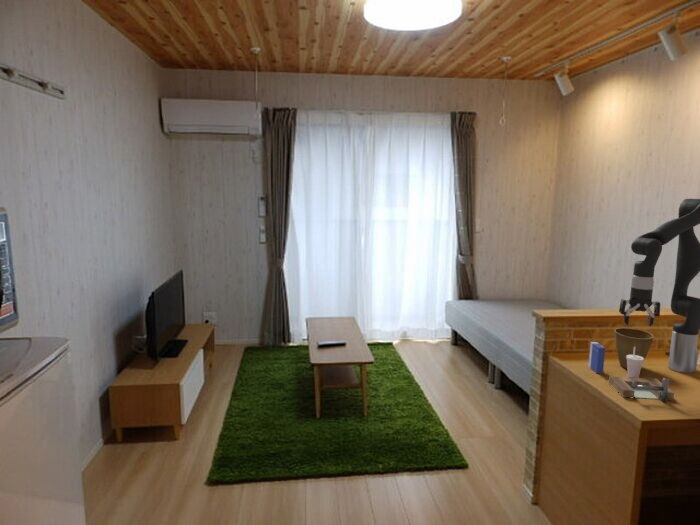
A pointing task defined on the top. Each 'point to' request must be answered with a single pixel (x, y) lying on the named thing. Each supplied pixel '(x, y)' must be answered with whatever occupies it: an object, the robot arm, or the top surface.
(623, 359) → the plant pot
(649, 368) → the top surface
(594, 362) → the walkman
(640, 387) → the dark grey piece
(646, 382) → the tan frame
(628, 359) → the smoothie
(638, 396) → the bay mat
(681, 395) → the top surface
